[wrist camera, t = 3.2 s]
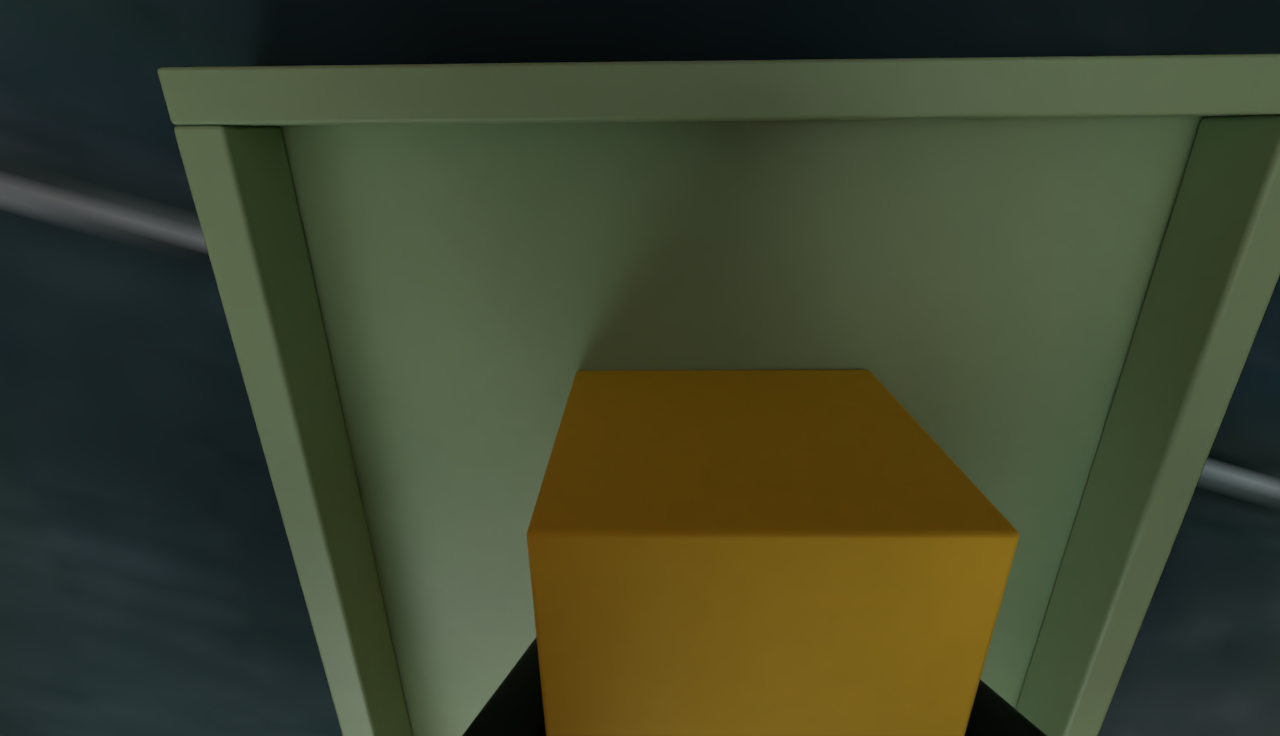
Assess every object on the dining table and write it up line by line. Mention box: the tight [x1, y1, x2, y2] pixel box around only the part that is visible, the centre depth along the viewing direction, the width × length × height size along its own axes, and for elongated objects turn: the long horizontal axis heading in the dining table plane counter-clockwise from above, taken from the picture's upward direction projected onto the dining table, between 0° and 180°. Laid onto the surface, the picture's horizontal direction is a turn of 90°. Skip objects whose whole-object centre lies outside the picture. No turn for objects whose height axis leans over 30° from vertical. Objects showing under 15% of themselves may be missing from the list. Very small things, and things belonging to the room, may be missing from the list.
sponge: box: [527, 370, 1019, 736], centre depth 9 cm, size 7×4×4 cm, turn 0°
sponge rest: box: [158, 54, 1280, 736], centre depth 10 cm, size 15×13×2 cm
